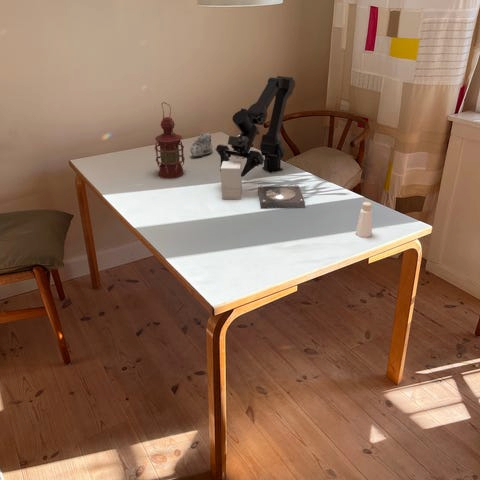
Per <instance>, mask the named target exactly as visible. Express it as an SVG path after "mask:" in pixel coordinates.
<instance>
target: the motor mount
mask: <svg viewBox="0 0 480 480" xmlns="http://www.w3.org/2000/svg"><path fill="white" fill-rule="evenodd" d="M257 193H258V199H259V200H258V201H259V206H260V209H289V208H290V209H293V208H294V209H297V208H300V209H301V208H303V209H304V208H305V207H306V200H305V198H304V196H303V193H302V190H301V188H300V185H298V184H295V185H282V186H281V185H276V186H272V185H271V186H270V185H269V186H263V185H260V186H258V187H257Z"/></svg>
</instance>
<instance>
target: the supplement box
mask: <svg viewBox="0 0 480 480" xmlns="http://www.w3.org/2000/svg"><path fill="white" fill-rule="evenodd" d="M220 165H221V164H220ZM220 169H221V172H220V183H221V184H220V185H221V187H220V189H221V199H222V200H241V198H242V195H243V184H242V183H243V181H242V179H243V177H242V176H241V174H242V171H243V170H242V161H237V160H235V161H232V160H231V161H230V160H229V161H223V162H222V165H221V168H219V170H220Z"/></svg>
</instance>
